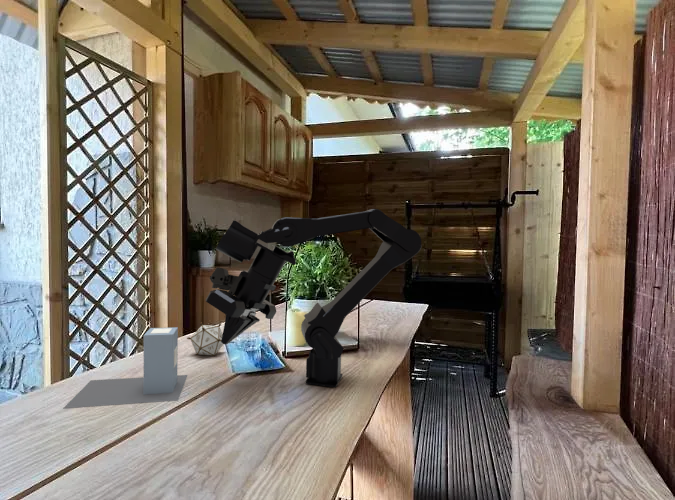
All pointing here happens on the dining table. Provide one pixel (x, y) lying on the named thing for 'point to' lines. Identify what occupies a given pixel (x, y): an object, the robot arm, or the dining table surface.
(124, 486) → the dining table surface
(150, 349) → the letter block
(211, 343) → the game die
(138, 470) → the dining table surface
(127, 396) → the mat
